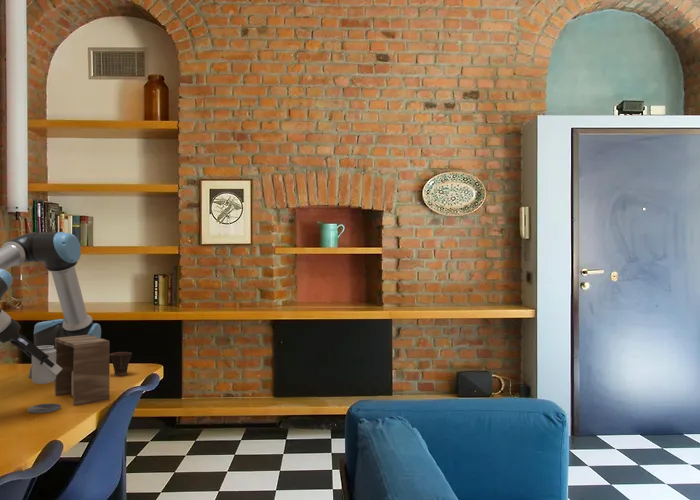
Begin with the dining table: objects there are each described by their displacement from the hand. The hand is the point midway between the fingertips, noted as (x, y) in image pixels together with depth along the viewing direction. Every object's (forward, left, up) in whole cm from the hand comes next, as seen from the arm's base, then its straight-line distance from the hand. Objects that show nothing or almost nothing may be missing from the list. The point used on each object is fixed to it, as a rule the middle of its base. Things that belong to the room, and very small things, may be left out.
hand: (54, 369), depth 206 cm
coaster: (0, -3, -13) cm, 13 cm away
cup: (-33, +38, -13) cm, 52 cm away
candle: (-12, +13, -13) cm, 22 cm away
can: (0, -4, -4) cm, 5 cm away
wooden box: (-7, +12, -13) cm, 19 cm away
